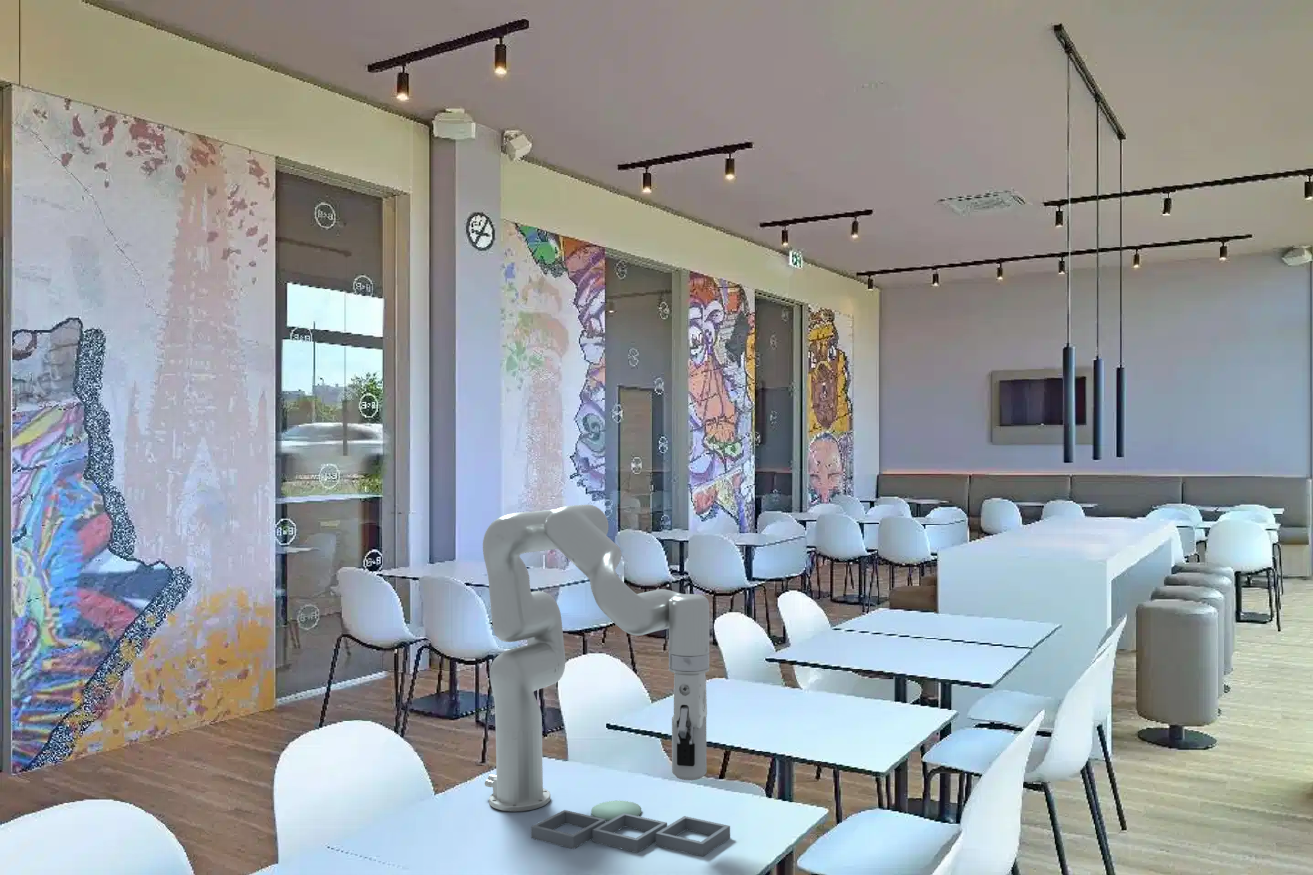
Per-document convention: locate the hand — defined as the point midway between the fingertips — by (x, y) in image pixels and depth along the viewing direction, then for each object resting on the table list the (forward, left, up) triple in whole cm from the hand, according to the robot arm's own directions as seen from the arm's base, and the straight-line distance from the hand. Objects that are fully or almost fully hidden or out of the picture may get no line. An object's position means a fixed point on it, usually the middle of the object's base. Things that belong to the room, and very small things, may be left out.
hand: (689, 758), depth 183 cm
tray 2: (-10, -4, -15) cm, 19 cm away
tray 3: (+1, 0, -15) cm, 15 cm away
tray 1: (-21, -9, -15) cm, 28 cm away
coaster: (-20, +5, -15) cm, 26 cm away
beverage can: (0, 0, -3) cm, 3 cm away
